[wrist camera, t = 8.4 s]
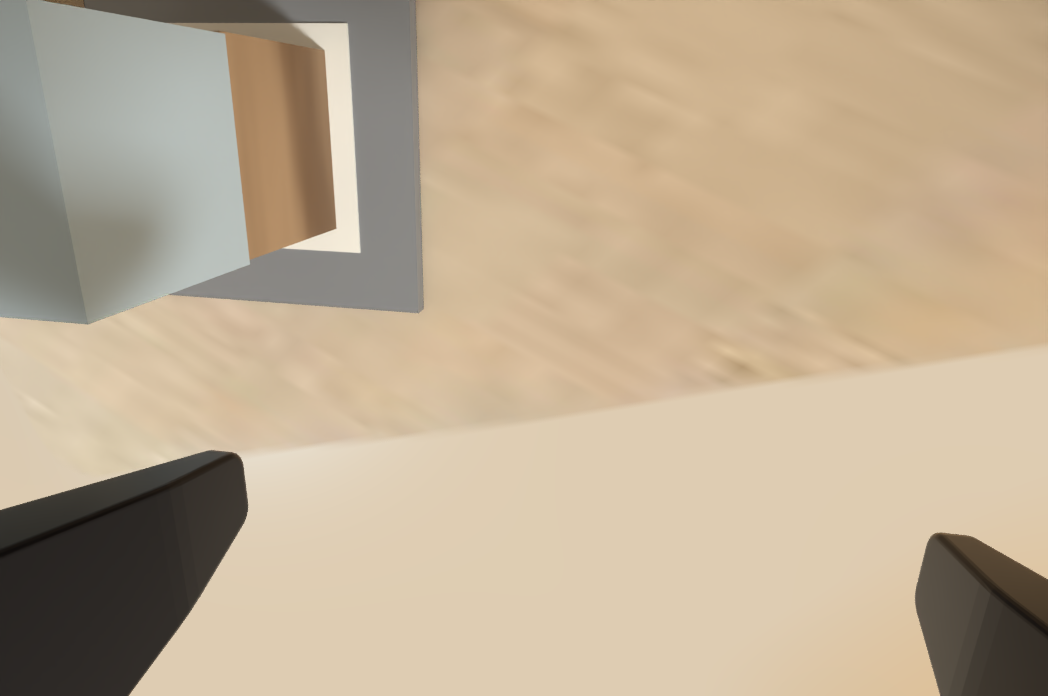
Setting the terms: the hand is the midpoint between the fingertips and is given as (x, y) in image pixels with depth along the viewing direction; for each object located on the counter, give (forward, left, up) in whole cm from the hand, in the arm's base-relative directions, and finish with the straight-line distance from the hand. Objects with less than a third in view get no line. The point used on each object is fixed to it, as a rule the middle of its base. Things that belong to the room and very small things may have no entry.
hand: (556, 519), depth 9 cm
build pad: (+11, -4, -12) cm, 17 cm away
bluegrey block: (+11, -4, -7) cm, 13 cm away
